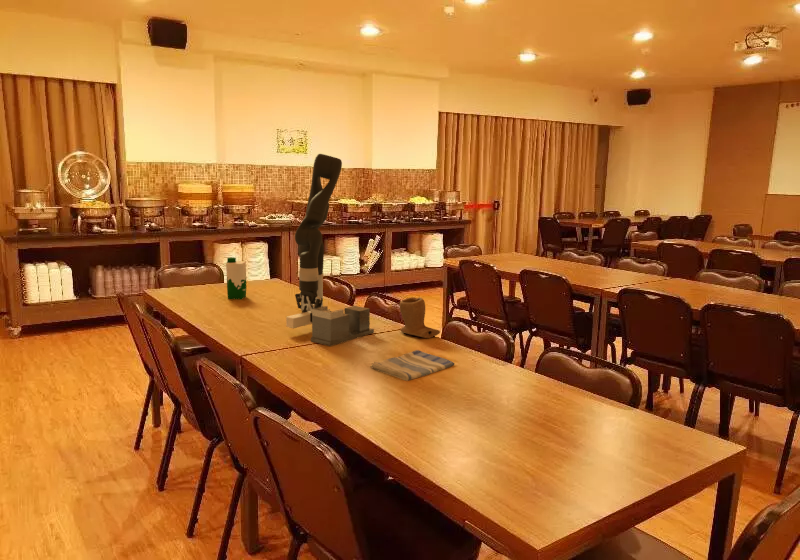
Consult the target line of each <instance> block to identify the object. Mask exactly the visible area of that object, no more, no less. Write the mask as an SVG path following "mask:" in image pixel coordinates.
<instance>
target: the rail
mask: <svg viewBox="0 0 800 560" xmlns="http://www.w3.org/2000/svg"><path fill="white" fill-rule="evenodd" d="M328 311H331V309H329V308H328ZM310 313H311V312H310V311H308V312H304V313H302V312H300V313H296V314H292V315H291V314H290V315H287V316H286V317H285V318H286V319H285V322H286V323H285V324H286V325H285V326H286V327H287V328H289V329H296V328H302V327H305V326H308V325H312V322H310Z"/></svg>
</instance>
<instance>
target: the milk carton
mask: <svg viewBox="0 0 800 560" xmlns="http://www.w3.org/2000/svg"><path fill="white" fill-rule="evenodd" d="M226 260H227V262H226V263H225V269H226V289H227V290H226V291H227V300H243V299H245V298H246V296H247V261H244V260H243V261H241V260H237V258H236V257H233V256H232V257H227V259H226Z"/></svg>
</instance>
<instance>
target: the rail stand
mask: <svg viewBox="0 0 800 560" xmlns="http://www.w3.org/2000/svg"><path fill="white" fill-rule="evenodd" d="M328 309H329V307H328V305H323V307H318V308H314V309H312V324H311V331H312V332H311V337H310V342H311V343H316V344H319V345H324V346H327V347H333V346H335V345H339V344H342V343H345V342H349V341H352V340H355V339H358V338H362V337H365V336H368V335H371V334H374V333H375V332H374V331H375V329H374V328H370V322H371V321H370V319H371V318H370V317H371V316H370V315H371V314H370V310H371V308H369V307H362V306H357V305H351V306H348V307H344V309H342V308H340V309H335V310H330V311H328Z"/></svg>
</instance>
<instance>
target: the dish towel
mask: <svg viewBox="0 0 800 560" xmlns="http://www.w3.org/2000/svg"><path fill="white" fill-rule="evenodd" d="M454 365H455V362H453V361H451V360H449V359H446V358H444V357H440V356H437V355H434V354H430V353H427V352H424V351H421V350H419V349H415V350H412V351H409V352H406V353H404V354H402V355H400V356H397V357H396V356H395V357H389V358H387V359H383V360H382V361H378V362H377V361H374V362H373V363H371V366H370V368H372V369H373V368H374V370H375V371H376V372H377V371H378V372H380V373H384V374H387V375H389V376H392V377H395V378H397V379H399V380H402V381H405V382H409V381H411V380H414V379H418V378H422V377H425V376H427V375H431V374H434V373H436V372H440V371H442V370H445V369H448V368H450V367H453V366H454Z"/></svg>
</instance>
